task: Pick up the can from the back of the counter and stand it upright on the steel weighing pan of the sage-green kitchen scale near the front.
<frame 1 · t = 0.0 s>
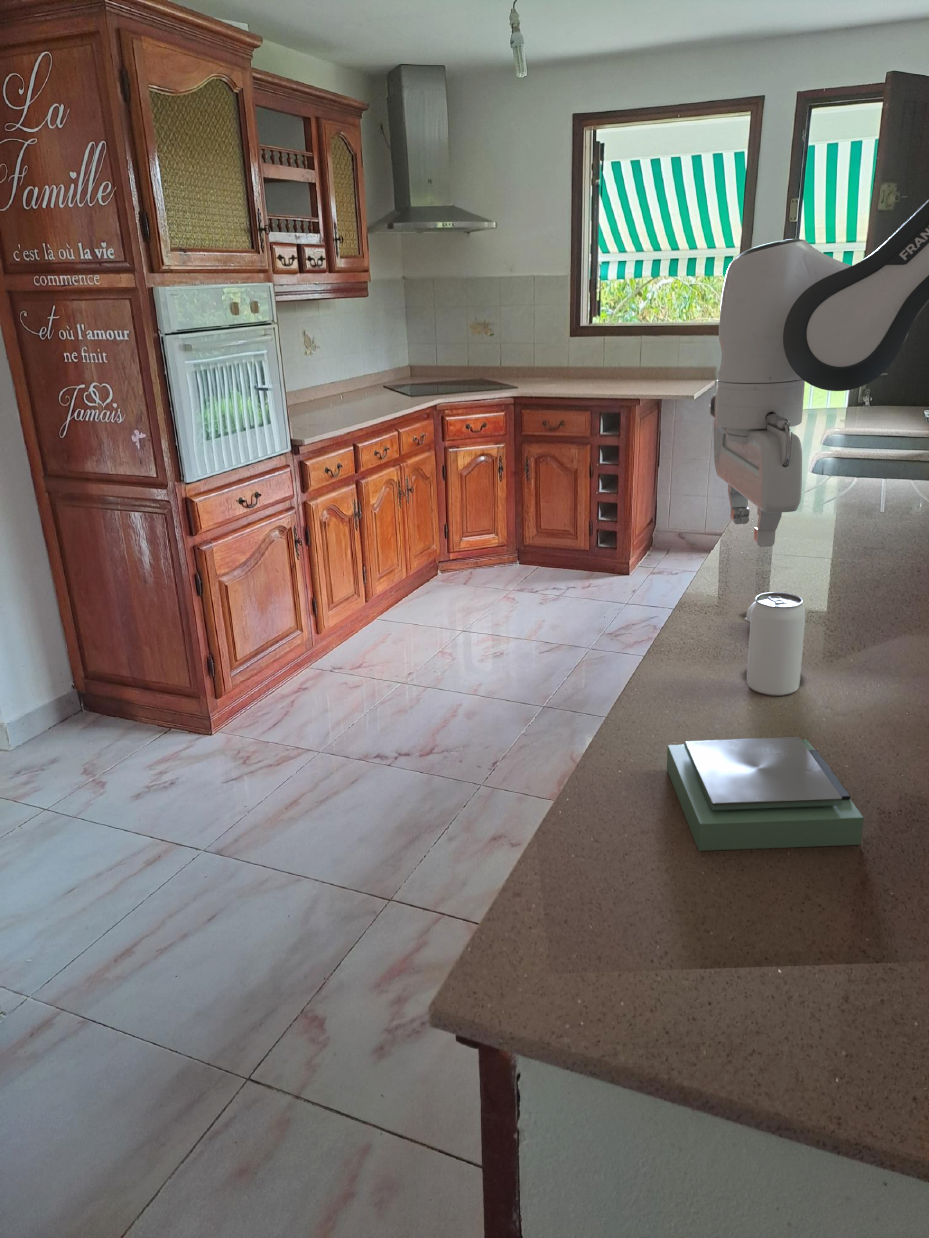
hand: (751, 533, 98), 23 cm above the counter, tool pointing down, fingers open, 8 cm apart
scale: (755, 804, 89), on the counter
can: (772, 687, 114), on the counter
scale pan: (758, 771, 88), point 4 cm above the counter, slide at 0.0 cm
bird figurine: (766, 632, 132), on the counter
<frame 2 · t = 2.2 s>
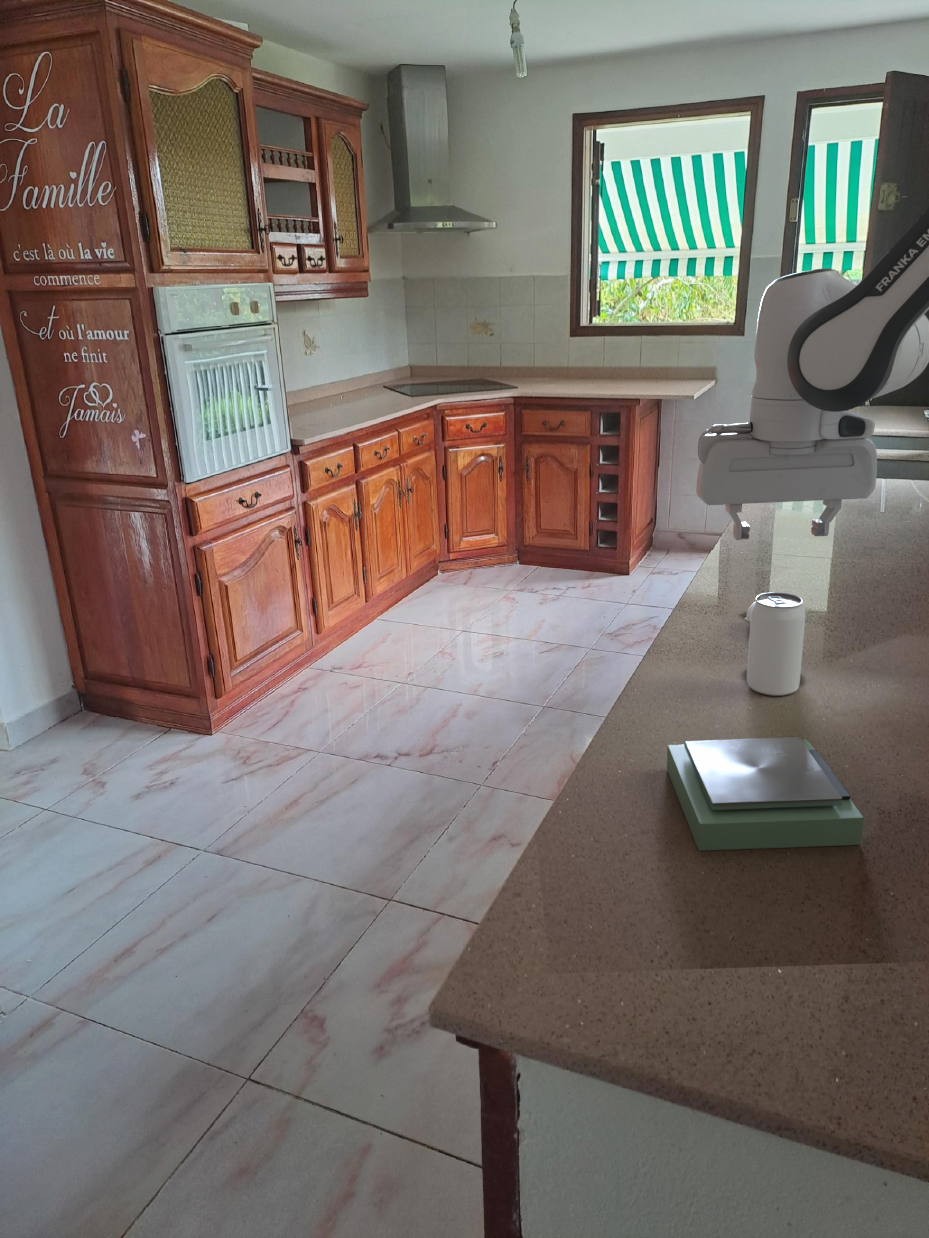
hand: (780, 536, 106), 20 cm above the counter, tool pointing down, fingers open, 8 cm apart
nothing on the counter moved.
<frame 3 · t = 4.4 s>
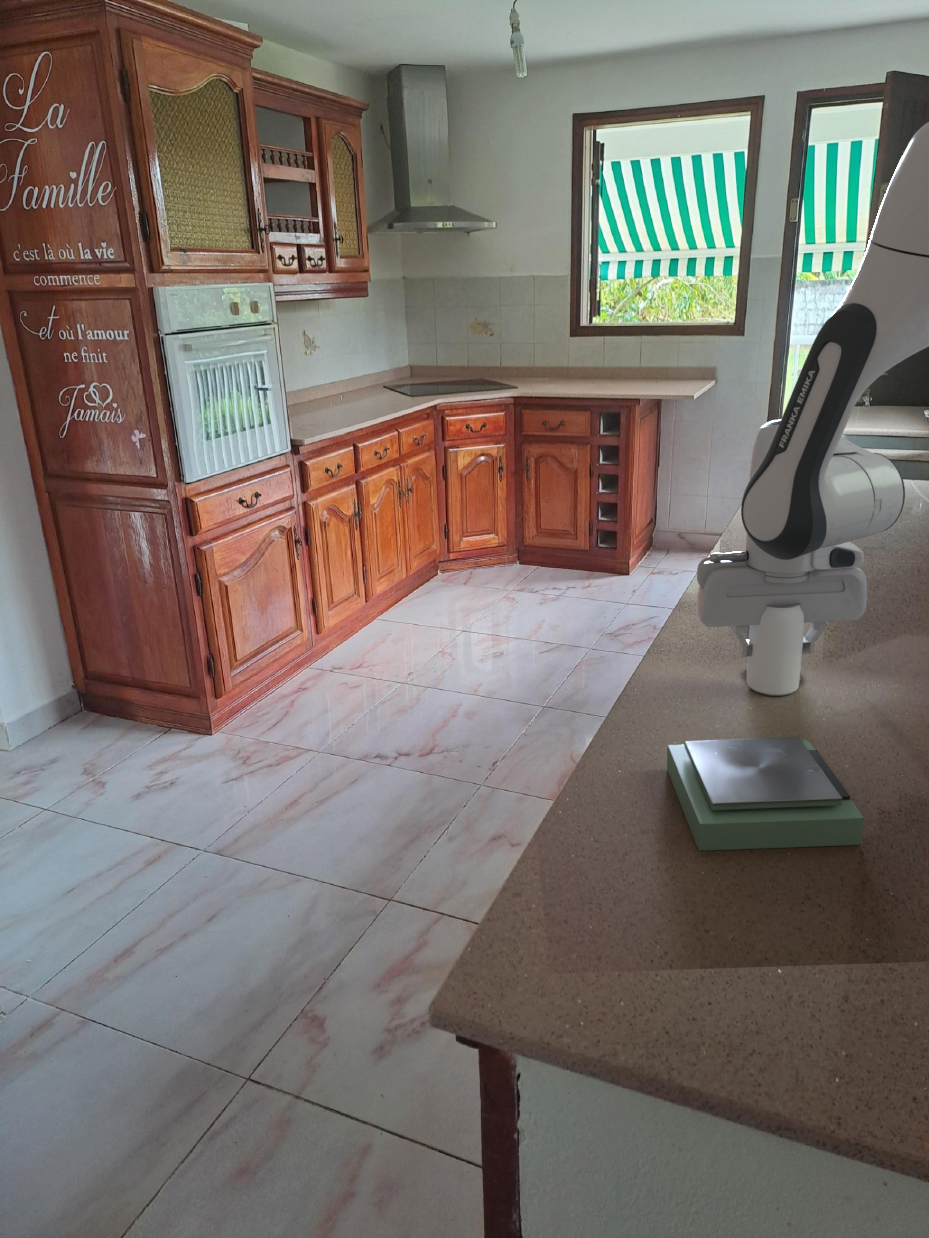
hand: (776, 653, 112), 5 cm above the counter, tool pointing down, fingers closed on can, 6 cm apart
can: (772, 687, 114), on the counter, touching gripper
everything else where it was.
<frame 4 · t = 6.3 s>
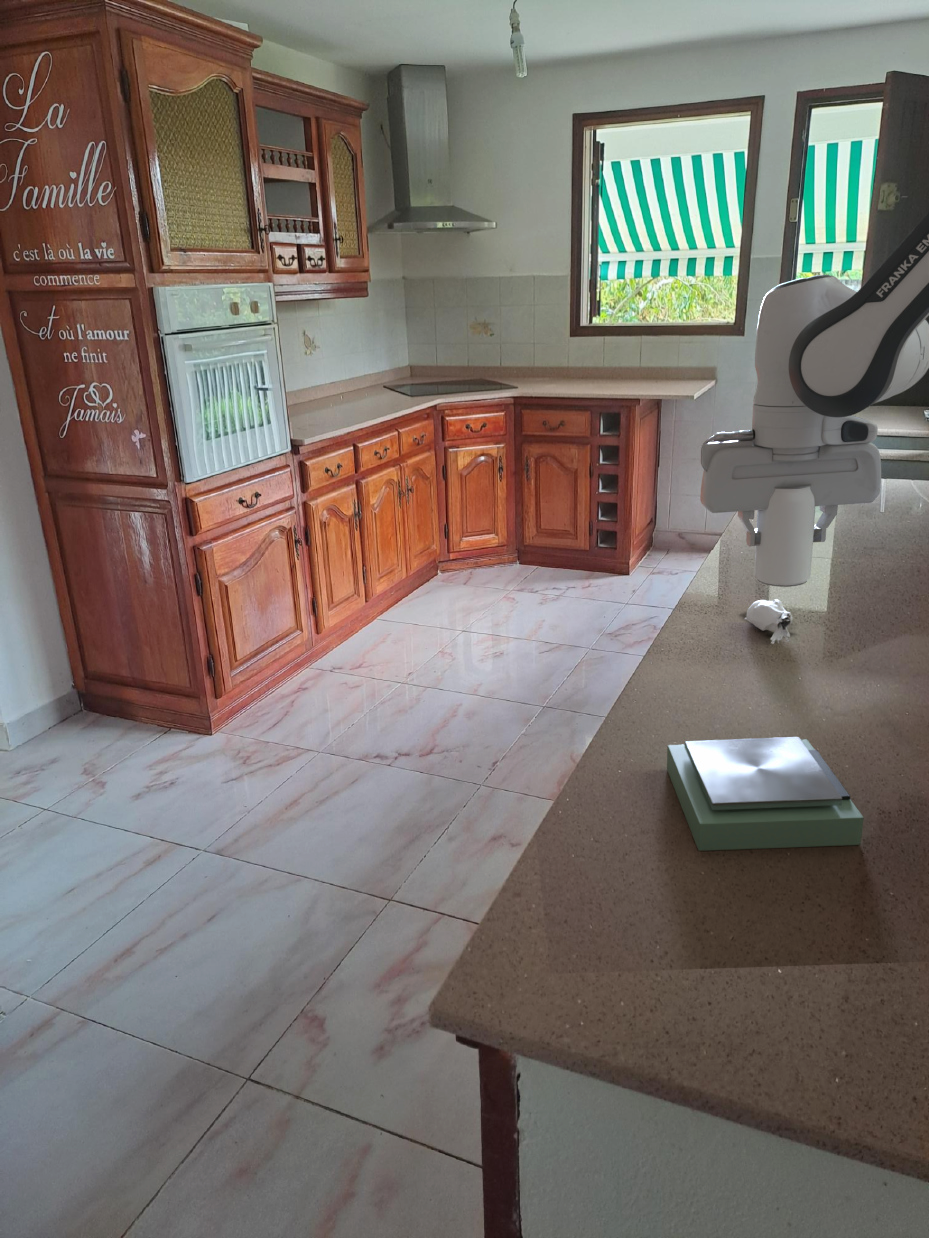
hand: (785, 543, 106), 20 cm above the counter, tool pointing down, fingers closed on can, 6 cm apart
can: (781, 580, 108), point 15 cm above the counter, touching gripper
everything else where it was.
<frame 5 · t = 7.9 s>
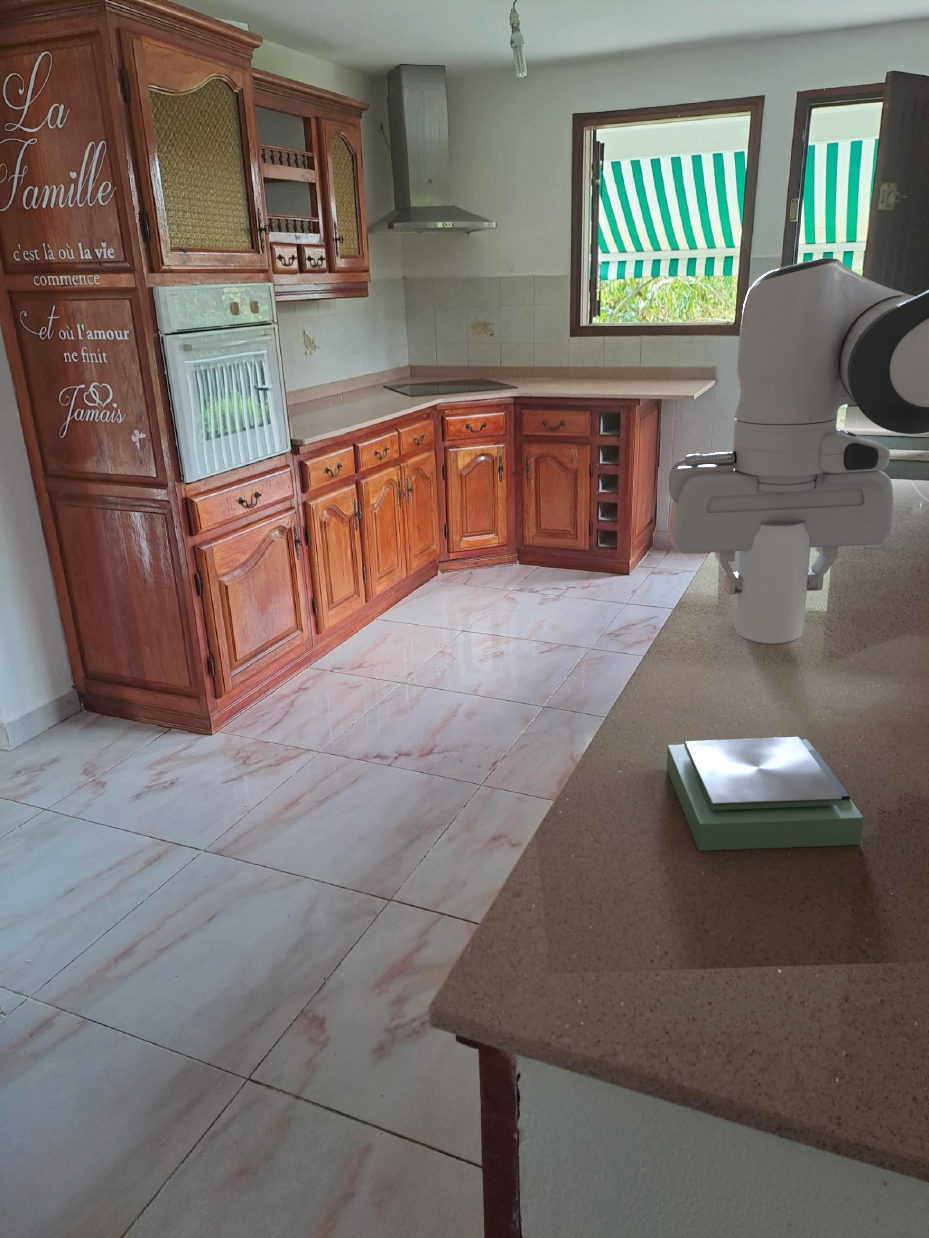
hand: (773, 590, 86), 21 cm above the counter, tool pointing down, fingers closed on can, 6 cm apart
can: (768, 635, 88), point 16 cm above the counter, touching gripper
everything else where it was.
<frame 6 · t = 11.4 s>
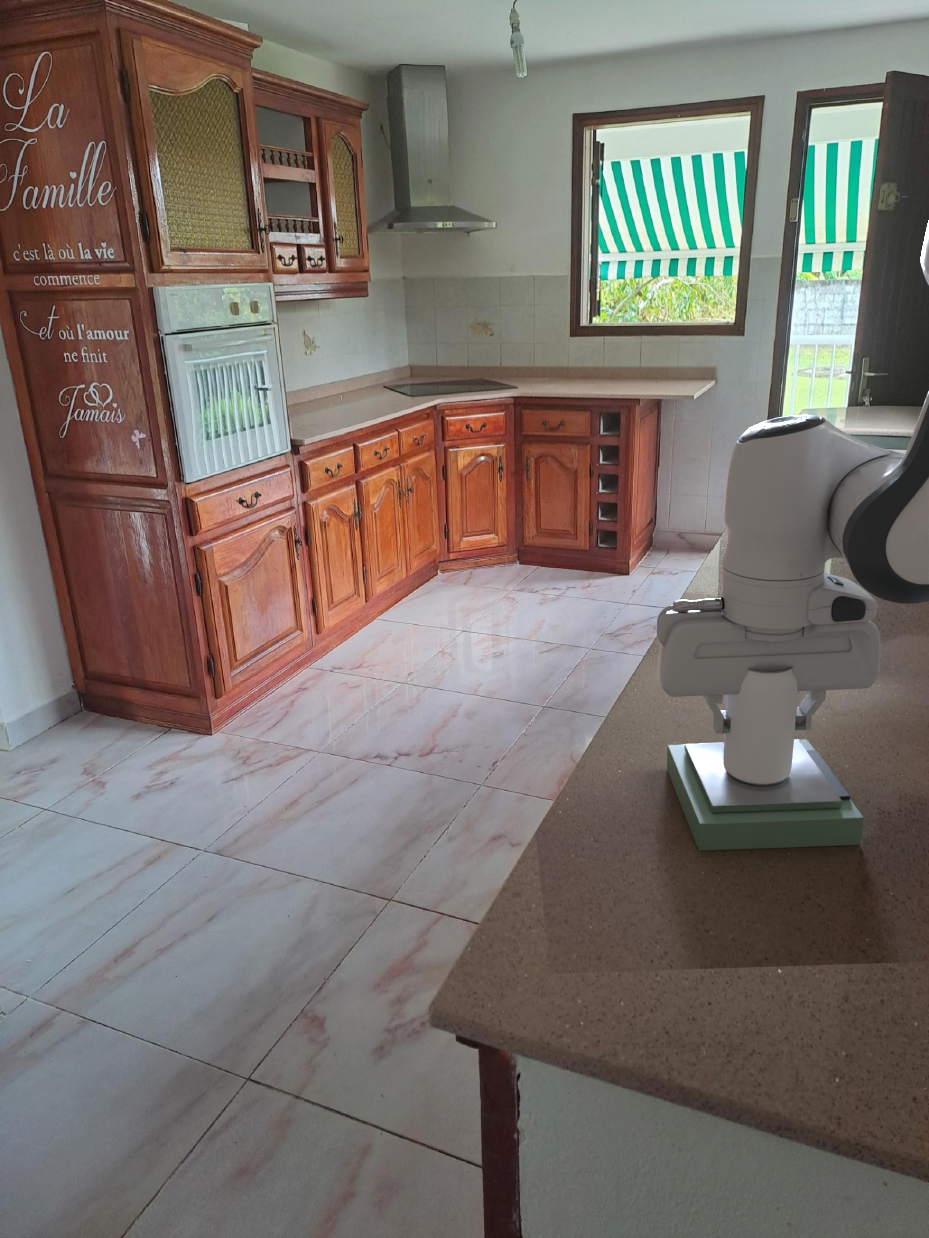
hand: (761, 729, 86), 9 cm above the counter, tool pointing down, fingers closed on can, 6 cm apart
can: (756, 771, 88), point 4 cm above the counter, touching gripper, scale pan
scale pan: (757, 773, 88), point 4 cm above the counter, slide at -0.3 cm, touching can
everything else where it was.
when the fingers open (8 cm above the counter, at t = 11.7 s): can stays where it is, resting on scale pan.
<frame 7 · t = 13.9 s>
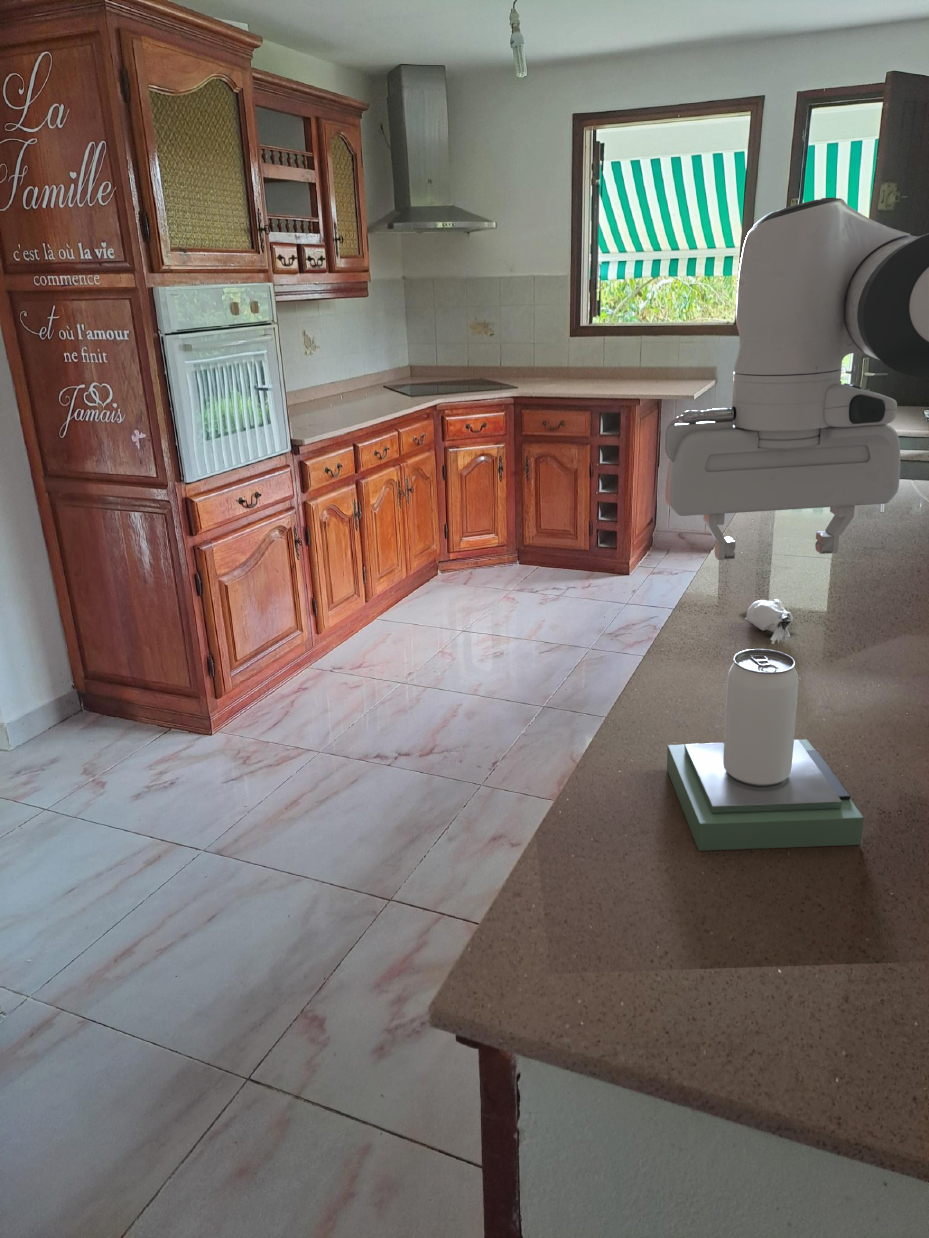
hand: (775, 555, 82), 26 cm above the counter, tool pointing down, fingers open, 8 cm apart
can: (756, 772, 88), point 4 cm above the counter, touching scale pan
everything else where it was.
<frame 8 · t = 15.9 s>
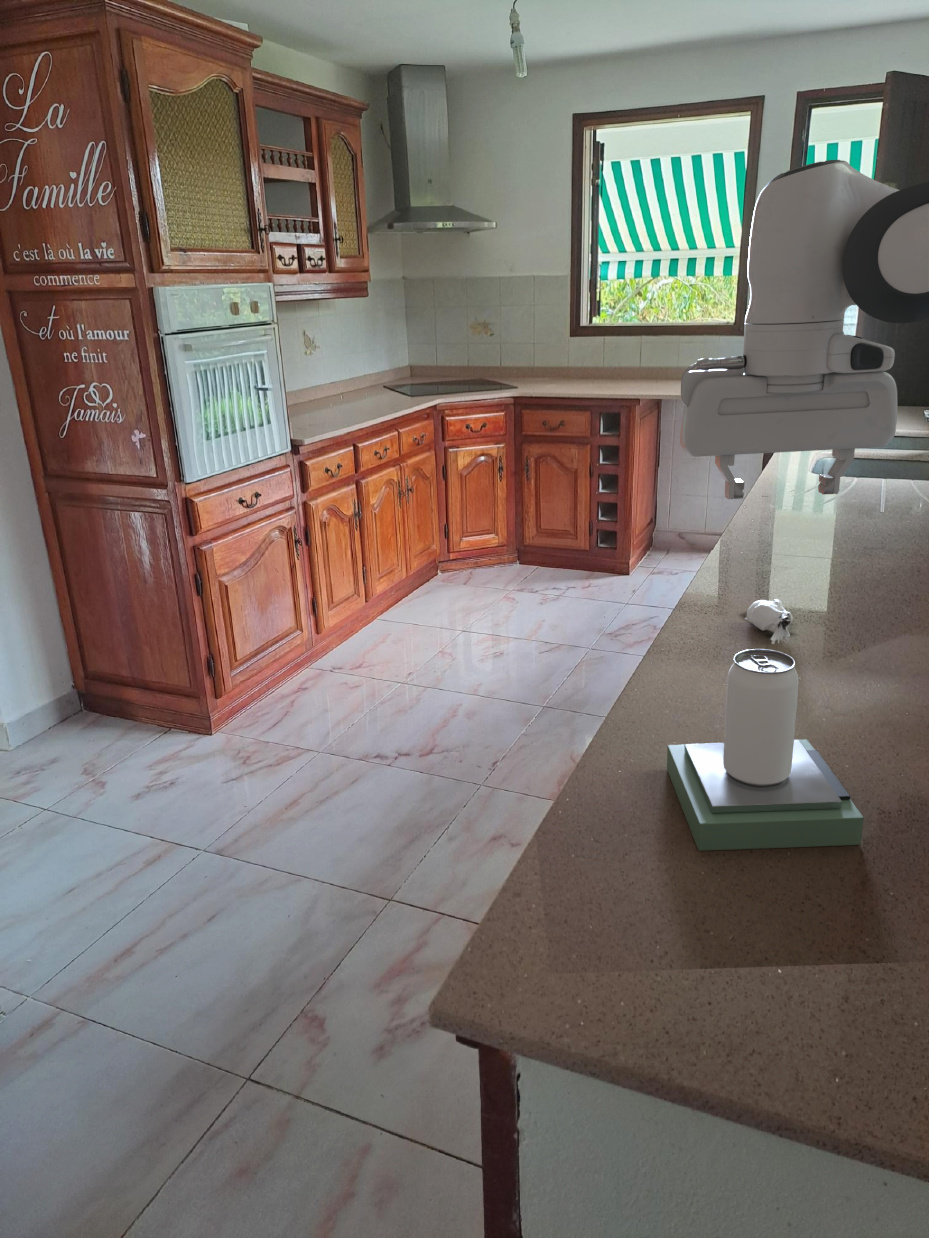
hand: (780, 495, 89), 29 cm above the counter, tool pointing down, fingers open, 8 cm apart
nothing on the counter moved.
at the end: can inside the target area on the scale (0.2 cm from its centre), point 3.7 cm above the scale's base; can tilted 0°; can touching scale pan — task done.
